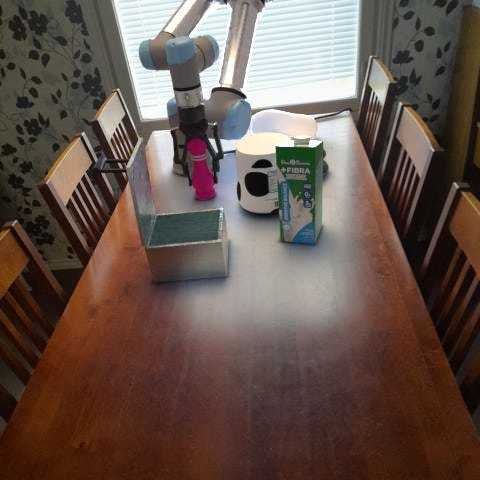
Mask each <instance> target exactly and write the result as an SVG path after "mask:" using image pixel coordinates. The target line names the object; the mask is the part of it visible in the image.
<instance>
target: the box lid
mask: <svg viewBox="0 0 480 480" xmlns="http://www.w3.org/2000/svg"><path fill="white" fill-rule="evenodd" d="M107 164H126V166H125V168H124V167H120V168H119V167H117V168H106V166H107ZM91 173H92V175H93V176H95V177H100V176H102V174H114V173H115V174H122V173H123V174H125V173H126V175H127V180H128V184H129V185H128V186H129V189H130V194H131V195H130V196H131V199H132V205H133V209H134V214H135V220H136V224H137V229H138V233H139V239H140V243H141V247H144V248H145V246H146V243H147V239H148V236H149V232H150V229H151V225H152V222H153V219H154V215H155V214H156V207H155V201H154V195H153V189H152V183H151V178H150V172H149V166H148V161H147V154H146V147H145V141H144V138H143V137H139V138H138V140H137V142H136V144H135V147H134V149H133V150H132V153H131V155H130V158H107V157H106V156H103V155H100V156H99V157H98V158H97V160H96V162H95V164H94V165H93V167H92V169H91Z"/></svg>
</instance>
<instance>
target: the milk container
mask: <svg viewBox="0 0 480 480" xmlns="http://www.w3.org/2000/svg"><path fill="white" fill-rule="evenodd" d="M286 140H291V138H290V137H288V136H287V135H284V134H281V133H272V132H271V133H259V134H253V135H252V134H251V135H248V136H244V137H242V138H241V139H238V141H237V142H236V144H235V150H236V153H235V164H236V170H237V183H236V198H237V201H238V204H239V205H240V206H241V207H242V209H243V210H245V211H247V212H249V213H251V214H256V215H272V214H277V213H278V214H279V203H278V185H277V167H276V149H275V146H277V145H278V144H280V143H282V142H284V141H286Z"/></svg>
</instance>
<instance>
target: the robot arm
mask: <svg viewBox="0 0 480 480" xmlns="http://www.w3.org/2000/svg"><path fill="white" fill-rule="evenodd" d="M273 2H274V0H183V1H182V2H181V3H180V5H179V6H178V7H177V8H176V10H175V11H174V13H173V14H172V15H171V16H170V18H169V19H168V21H166V23H165V25H164V26H163V27H162V29H161V30H160V31H159V32H158V34H157V35H156V36H155V37H154V38H153V39H151V38H148V39H144V40H142V41H141V42H140V43H139V46H138V58H139V61H140V64H141V66H142V67H143V68H145V70H148V71H156V72H158V71H169V74H170V79H171V83H172V89H173V90H172V91H173V97H172V98H170V99H169V100H168V101H167V102H166V113H167V116H166V117H167V118H168V122H169V128H170V130H169V134H170V136H171V138H172V147H173V157H172V168H173V171H174V173H175V174H177V175H180V176H185V177H187V182H188V187H193V186H192V175H193V172H194V163H193V160H192V159H191V156H190V152H189V151H188V148H187V144H188V143H189V141H190V139H192V138H201V140H202V141H203V142H205V143H206V148H207V149H206V151H207V155H208V156H207V158H206V160H207V165H208V167H209V169H210V171H211V172H212V174H213V175H214V180H215V185H218V183H219V177H218V173H220V170H221V167H220V161H221V160H224V159H225V155H228V154H234V153H235V154H236V149H231V150H224V149H223V145H222V141H221V140H225V141H232V140H233V141H234V140H238V141H239V140H241V139H243V138H244V137H245V136H246V134H247V133H248V131H249V126H250V122H251V118H252V105H251V103H250V102H249V100H248V99H249V98H248V95H247V93H246V92H245V90H246V89H245V88H246V83H247V79H248V73H249V69H250V68H249V67H250V62H251V58H252V57H251V56H252V52H253V46H254V41H255V36H256V29H257V24H258V19H259V18H261V17H262V16H263V15H264V13H265V7H266V5H270V4H272V3H273ZM223 7H227V8H228V9H229V11H230V14H229V18H228V24H227V29H226V35H225V41H224V45H223V51H222V57H221V63H220V68H219V74H218V79H217V84H216V85H215V86H213V87H212V88H211V91H210V96H209V98H204V95H203V87H202V83H201V76H200V75H201V73H202V72H203V71H205V70H207V69H209V68H211V67H213V65H214V64H215V63H216V62H217V61H218V59H219V57H220V46H219V43H218V42H217V39H215V37H213V36H212V35H210V34H202V35H198V36H196V37H195V38H194V37H193V36H194V34H195V33H196V32H197V30H198V29H199V27H201V24H202V23H203V22H204V20H205V19H206V17H208V15H211V14H213V13H214V12H215V11H216V10H217V9H218V8H223ZM347 111H349V112H350V113H351V112H354V110H353V108H351V107H344V108H343V109H341V110H339V111H337V112H333V113H328V114H324V115H320V116H316V117H315V116H314V117H313V118H314V119H315V121H317V120H322V119H327V118H332V117H335V116H338V115H340V114H342V113H344V112H347ZM210 140H214V143H215V146H216V150H217V151H216V150H215V148H214V146H213V144H212V142H211V141H210Z"/></svg>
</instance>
